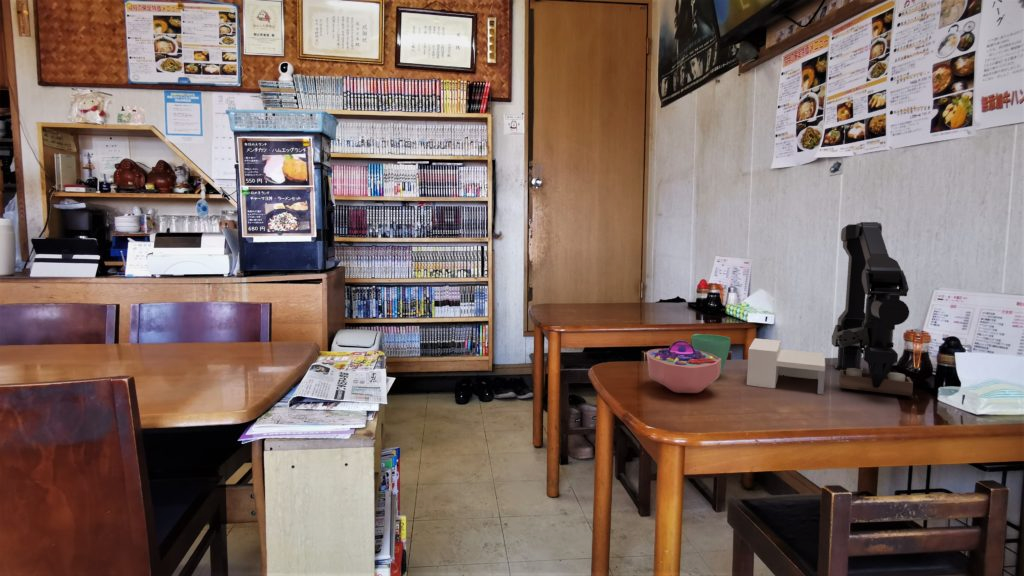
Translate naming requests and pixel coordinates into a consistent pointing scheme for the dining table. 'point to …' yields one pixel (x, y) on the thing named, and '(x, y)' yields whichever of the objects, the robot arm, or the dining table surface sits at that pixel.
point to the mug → (712, 345)
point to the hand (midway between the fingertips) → (874, 384)
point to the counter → (782, 364)
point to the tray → (863, 381)
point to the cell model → (683, 367)
